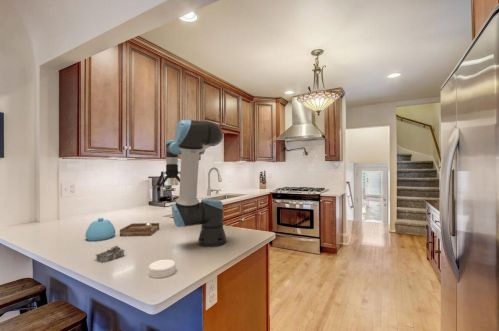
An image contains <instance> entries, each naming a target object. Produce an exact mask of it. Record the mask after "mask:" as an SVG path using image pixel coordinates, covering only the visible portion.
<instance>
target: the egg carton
mask: <svg viewBox="0 0 499 331" xmlns="http://www.w3.org/2000/svg"><path fill="white" fill-rule="evenodd" d="M125 251H126V250H125V249H123V248H121V247H120V246H118V245H115V246H112V247H111V248H110V249H107V250H105V251H102V252H100V253H95V256H96V261H97V262H100V263H107V262H109V261H111V260H116V259H117V258H123V257H124V255H125Z"/></svg>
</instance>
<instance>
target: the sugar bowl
mask: <svg viewBox="0 0 499 331" xmlns="http://www.w3.org/2000/svg"><path fill="white" fill-rule="evenodd" d="M115 234H116V229H115V226H114V224H113V223H112V222H111V220H108V219H104V218H103V217H99V218H97V220H94V221H92V222H91V223H90V224H89V226H88V228H86V231H85V235H84V236H85V239H87V240H88V241H90V242H99V241H105V239H106V240H108V239H112V238H113V237H114V236H115ZM111 237H112V238H111Z"/></svg>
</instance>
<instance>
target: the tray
mask: <svg viewBox="0 0 499 331" xmlns="http://www.w3.org/2000/svg"><path fill="white" fill-rule="evenodd" d="M147 223H148V222H147ZM147 223H142V222H140V223H139V222H138V223H130V224H128V225H125V226H124V227H122V228H121V229H119V237H150V236H152V235H154V234H155V233H156V232H157V231H159V230H160V222H153V223H151V222H150V223H151V225H152V226H151V228H149V229H148V228H146V226H145V225H146V224H147Z"/></svg>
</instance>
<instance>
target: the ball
mask: <svg viewBox="0 0 499 331" xmlns="http://www.w3.org/2000/svg"><path fill="white" fill-rule="evenodd" d="M145 226H146V228H148V229H149V228H151V226H152V225H151V222H147V224H146V225H145Z"/></svg>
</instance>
